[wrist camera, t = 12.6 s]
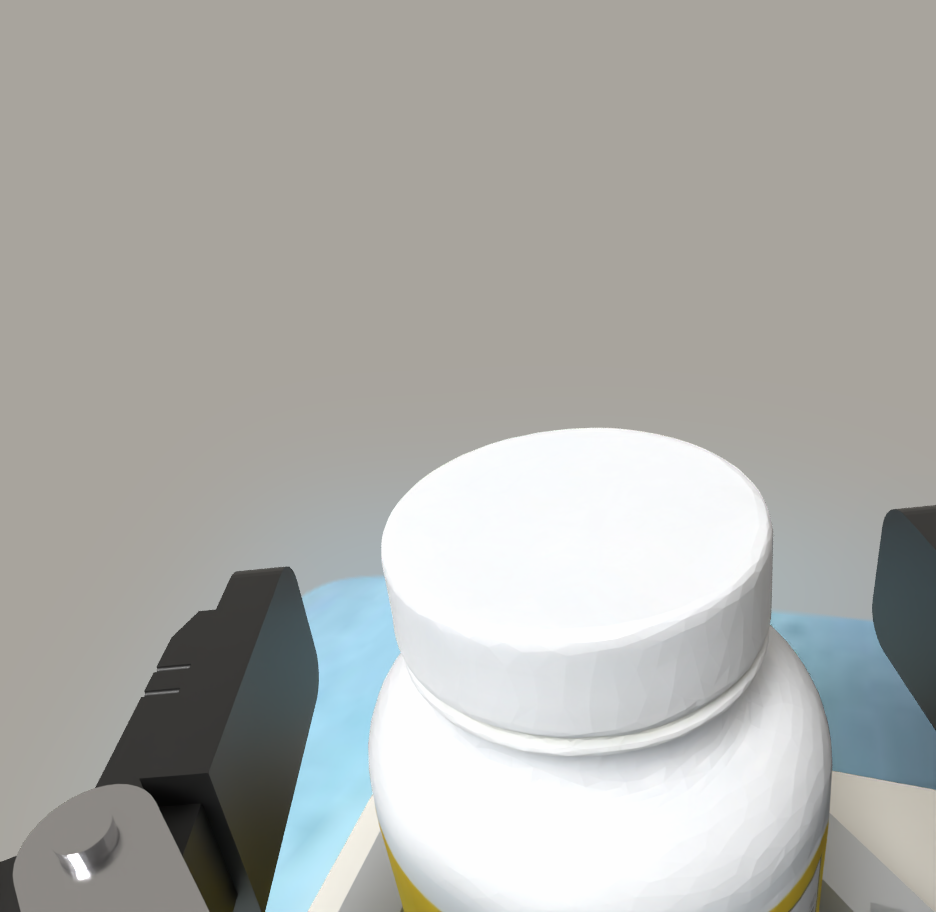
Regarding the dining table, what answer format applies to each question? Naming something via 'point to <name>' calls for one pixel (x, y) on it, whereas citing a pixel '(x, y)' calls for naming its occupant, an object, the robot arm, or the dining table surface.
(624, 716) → the supplement bottle
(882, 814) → the seat plate
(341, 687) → the dining table surface
